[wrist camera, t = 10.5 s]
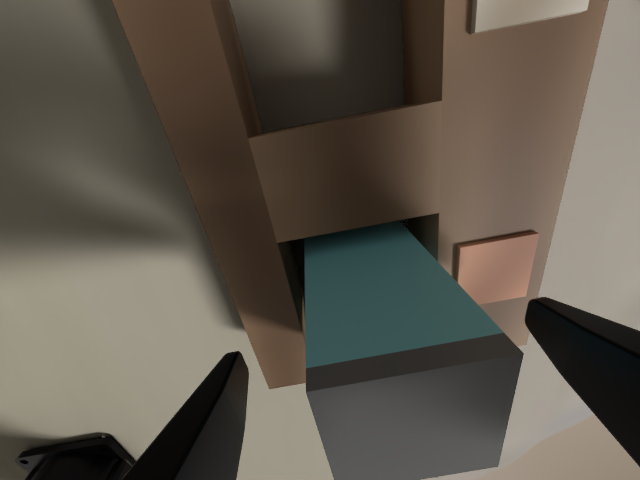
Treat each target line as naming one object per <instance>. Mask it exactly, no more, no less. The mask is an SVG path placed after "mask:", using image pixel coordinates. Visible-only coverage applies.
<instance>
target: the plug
mask: <svg viewBox="0 0 640 480" xmlns="http://www.w3.org/2000/svg"><path fill="white" fill-rule="evenodd" d="M304 254H305V342H306V393H307V397H308V400H309V403H310V406H311V409H312V412H313V415H314V418H315V421H316V425H317V428H318V431H319V434H320V437H321V440H322V443H323V446H324V449H325V453H326V456H327V459H328V462H329V465H330V468H331V471H332V474H333V478H334V480H420V479H426V478H432V477H438V476H444V475H450V474H456V473H462V472H468V471H474V470H480V469H486V468H492V467H498V464H499V460H500V456H501V451H502V447H503V442H504V438H505V434H506V429H507V425H508V420H509V416H510V412H511V407H512V403H513V398H514V394H515V390H516V385H517V381H518V376H519V372H520V367H521V363H522V359H523V354H524V353H523V352H522V351H521V350H520V349H519V348H518V347H517V346H516V345H515V344H514V343H513V342H512V341H511V339H510V338H509V337H508V336H507V335H506V334H505V333H504V332H503V331H502V330H501V329H500V328H499V327H498V326H497V324H496V323H495V322H494V321H493V320H492V319H491V318H490V317H489V316H488V315H487V314H486V313H485V312H484V311H483V310H482V308H481V307H480V306H479V305H478V304H477V303H476V302H475V301H474V300H473V299H472V298H471V297H470V296H469V295H468V294H467V292H466V291H465V290H464V289H463V288H462V287H461V286H460V285H459V284H458V283H457V282H456V281H455V280H454V279H453V277H452V276H451V275H450V274H449V273H448V272H447V271H446V270H445V269H444V268H443V267H442V266H441V265H440V264H439V263H438V261H437V260H436V259H435V258H434V257H433V256H432V255H431V254H430V253H429V252H428V251H427V250H426V249H425V248H424V247H423V245H422V244H421V243H420V242H419V241H418V240H417V239H416V238H415V237H414V236H413V235H412V234H411V233H410V232H409V230H408V229H407V228H406V227H405V226H404V225H403V224H402V223H401V222H400V221H399V220H398V221H393V222H387V223H382V224H376V225H371V226H366V227H360V228H355V229H350V230H344V231H339V232H333V233H328V234H323V235H317V236H312V237H306V238H304Z"/></svg>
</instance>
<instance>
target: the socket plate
mask: <svg viewBox="0 0 640 480" xmlns="http://www.w3.org/2000/svg"><path fill="white" fill-rule="evenodd" d="M608 1H609V0H401V7H402V40H403V74H404V105H403V106H398V107H393V108H388V109H382V110H377V111H372V112H367V113H362V114H357V115H352V116H347V117H342V118H336V119H331V120H326V121H321V122H316V123H311V124H306V125H301V126H296V127H290V128H285V129H280V130H275V131H270V132H265V133H263V132H262V128H261V124H260V120H259V116H258V112H257V108H256V104H255V100H254V96H253V92H252V88H251V84H250V80H249V76H248V72H247V69H246V65H245V61H244V57H243V53H242V49H241V45H240V41H239V37H238V33H237V29H236V25H235V21H234V17H233V13H232V9H231V5H230V1H229V0H112V2H113V5H114V7H115V10H116V12H117V14H118V17H119V19H120V22H121V24H122V27H123V29H124V32H125V34H126V37H127V39H128V42H129V44H130V47H131V49H132V51H133V54H134V56H135V59H136V61H137V64H138V66H139V69H140V71H141V74H142V76H143V79H144V81H145V84H146V86H147V88H148V91H149V93H150V96H151V98H152V101H153V103H154V106H155V108H156V111H157V113H158V116H159V118H160V121H161V123H162V125H163V128H164V130H165V133H166V135H167V138H168V140H169V143H170V145H171V148H172V150H173V153H174V155H175V158H176V160H177V162H178V165H179V167H180V170H181V172H182V175H183V177H184V180H185V182H186V185H187V187H188V190H189V192H190V195H191V197H192V199H193V202H194V204H195V207H196V209H197V212H198V214H199V217H200V219H201V222H202V224H203V227H204V229H205V232H206V234H207V236H208V239H209V241H210V244H211V246H212V249H213V251H214V254H215V256H216V259H217V261H218V264H219V266H220V269H221V271H222V273H223V276H224V278H225V281H226V283H227V286H228V288H229V291H230V293H231V296H232V298H233V301H234V303H235V306H236V308H237V310H238V313H239V315H240V318H241V320H242V323H243V325H244V328H245V330H246V333H247V335H248V338H249V340H250V343H251V345H252V347H253V350H254V352H255V355H256V357H257V360H258V362H259V365H260V367H261V370H262V372H263V375H264V377H265V380H266V382H267V384H268V387H269V389H273V388H279V387H284V386H290V385H296V384H302V383H306V342H305V298H304V294H303V290H302V286H301V282H300V278H299V274H298V270H297V266H296V262H295V258H294V254H293V250H292V246H291V242H290V240H296V239H301V238H306V237H312V236H317V235H323V234H328V233H333V232H339V231H344V230H350V229H355V228H360V227H366V226H371V225H376V224H382V223H387V222H393V221H398V220H403V219H408V230H409V232H410V233H411V234H412V235H413V236H414V237H415V238H416V239H417V240H418V241H419V242H420V243H421V244H422V245H423V247H424V248H425V249H426V250H427V251H428V252H429V253H430V254H431V255H432V256H433V257H434V258H435V259H436V260H437V261H438V263H439V264H440V265H441V266H442V267H443V268H444V269H445V270H446V271H447V272H448V273H449V274H450V275H451V276H452V277H453V279H454V280H455V281H456V282H457V283H458V284H459V285H460V286H461V287H462V288H463V289H464V290H465V291H466V292H467V294H468V295H469V296H470V297H471V298H472V299H473V300H474V301H475V302H476V303H477V304H478V305H479V306H480V307H481V308H482V310H483V311H484V312H485V313H486V314H487V315H488V316H489V317H490V318H491V319H492V320H493V321H494V322H495V323H496V324H497V326H498V327H499V328H500V329H501V330H502V331H503V332H504V333H505V334H506V335H507V336H508V337H509V338H510V339H511V341H512V342H513V343H514V344H515V345H516V346H521V345H526V344H527V340H528V336H529V332H530V331H529V330H528V328H527V326H526V324H525V314H526V310H527V305H528V302H529V301H530V300H531V299H535V298H538V294H539V290H540V286H541V282H542V277H543V273H544V269H545V265H546V261H547V257H548V252H549V248H550V244H551V240H552V236H553V231H554V227H555V223H556V219H557V215H558V210H559V206H560V202H561V198H562V194H563V190H564V185H565V181H566V177H567V173H568V169H569V164H570V160H571V156H572V152H573V148H574V144H575V139H576V135H577V131H578V127H579V123H580V118H581V114H582V110H583V106H584V102H585V98H586V93H587V89H588V85H589V81H590V77H591V72H592V68H593V64H594V60H595V56H596V52H597V47H598V43H599V39H600V35H601V31H602V26H603V22H604V18H605V14H606V10H607V6H608Z"/></svg>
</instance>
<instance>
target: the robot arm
mask: <svg viewBox="0 0 640 480" xmlns="http://www.w3.org/2000/svg"><path fill="white" fill-rule="evenodd" d="M525 324H526V326H527V328H528V330H529V331H530V332H531V334H532V335H533V337H534V338H535V339H536V341H537V342H538V344H539V345H540V346H541V348H542V349H543V351H544V352H545V353H546V355H547V356H548V357H549V359H550V360H551V362H552V363H553V364H554V366H555V367H556V369H557V370H558V371H559V373H560V374H561V375H562V376H563V378H564V379H565V380H566V381H567V382H568V384H569V385H570V386H571V387H572V388H573V390H574V391H575V392H576V393H577V394H578V395H579V397H580V398H581V399H582V400H583V401H584V402H585V404H586V405H587V406H588V407H589V408H590V409H591V411H592V412H593V413H594V414H595V415H596V416H597V418H598V419H599V420H600V421H601V422H602V423H603V424H604V426H605V427H606V428H607V429H608V430H609V432H610V433H611V434H612V435H613V436H614V437H615V439H616V440H617V441H618V442H619V443H620V444H621V446H622V447H623V448H624V449H625V450H626V451H627V453H628V454H629V455H630V456H631V457H632V459H634V461H635V462H636V463H637V464H638V466H639V467H640V331H638V330H635V329H633V328H630V327H627V326H624V325H622V324H619V323H616V322H613V321H611V320H608V319H605V318H602V317H600V316H597V315H594V314H591V313H588V312H586V311H583V310H580V309H577V308H575V307H572V306H569V305H566V304H564V303H561V302H558V301H555V300H553V299H550V298H547V297H540V298H535V299H531V300H530V301H529V302H528V305H527V310H526V314H525ZM248 379H249V372H248V368H247V365H246V363H245V361H244V358H243V356H242V354H241V353H240V352H239V351H236V352H230V353H227V354H225V355H224V356H223V358H222V359H221V360H220V361H219V362H218V364H217V365H216V366H215V367H214V369H213V370H212V371H211V372H210V373H209V375H208V376H207V377H206V378H205V379H204V381H203V382H202V383H201V384H200V385H199V387H198V388H197V389H196V390H195V391H194V393H193V394H192V395H191V396H190V397H189V399H188V400H187V401H186V402H185V403H184V405H183V406H182V407H181V408H180V409H179V411H178V412H177V413H176V414H175V415H174V417H173V418H172V419H171V420H170V421H169V423H168V424H167V425H166V426H165V428H164V429H163V430H162V431H161V432H160V434H159V435H158V436H157V437H156V438H155V440H154V441H153V442H152V443H151V444H150V446H149V447H148V448H147V449H146V450H145V452H144V453H143V454H142V455H141V456H140V458H139V459H138V460H137V461H136V462H134V461H133V460H132V459H131V458H130V457H129V456H128V455H127V453H126V452H125V451H124V450H123V449H122V448H121V447H120V446H119V445H118V444H117V443H116V442H115V441H114V440H113V439H111V438H107V437H105V438H98V439H92V440H86V441H81V442H75V443H69V444H63V445H57V446H51V447H46V448H40V449H34V450H28V451H24V452H22V453H21V454H20V455H19V456H18V458H17V459H16V460H15V461H16V463H17V464H19V465H20V466H21V467H23V468H24V469H25V470H27V471H28V472H29V475H28V476H27V477H26V479H25V480H236V478H237V472H238V466H239V460H240V454H241V449H242V443H243V437H244V430H245V420H246V406H247V393H248Z"/></svg>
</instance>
